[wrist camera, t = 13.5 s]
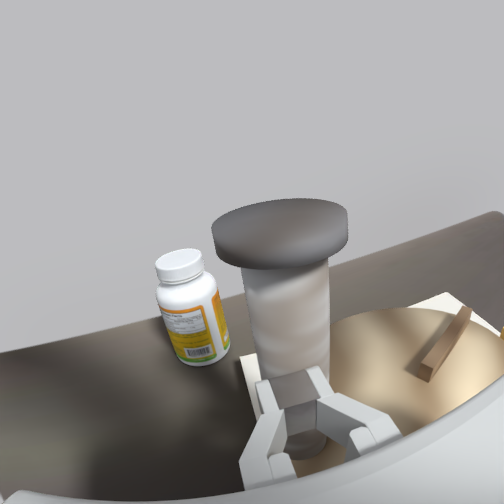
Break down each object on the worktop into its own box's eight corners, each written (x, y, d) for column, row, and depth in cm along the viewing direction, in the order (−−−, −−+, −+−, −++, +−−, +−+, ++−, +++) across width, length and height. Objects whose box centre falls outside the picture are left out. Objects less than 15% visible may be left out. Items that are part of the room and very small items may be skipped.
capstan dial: (247, 541, 10) (114, 348, 5) (282, 329, 27) (261, 166, 22) (557, 473, 6) (682, 259, 1) (474, 310, 23) (494, 158, 18)
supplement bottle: (206, 326, 32) (184, 241, 28) (242, 344, 29) (223, 250, 25) (166, 352, 29) (135, 264, 25) (200, 376, 25) (168, 279, 21)
